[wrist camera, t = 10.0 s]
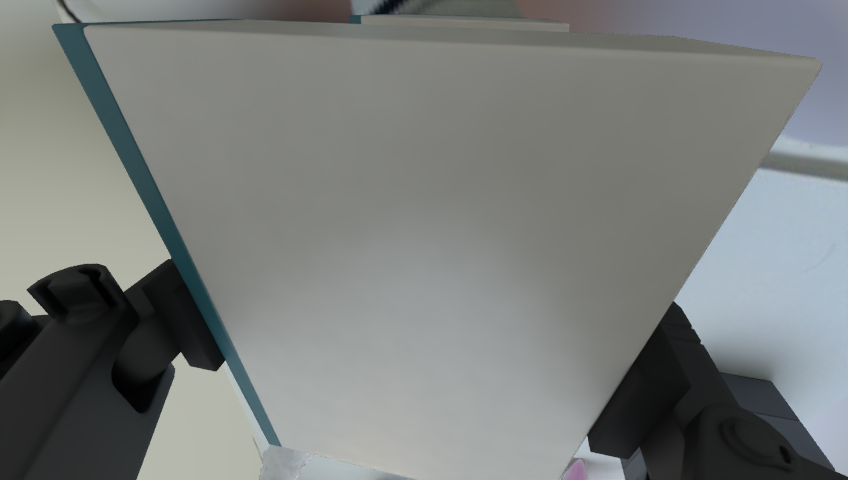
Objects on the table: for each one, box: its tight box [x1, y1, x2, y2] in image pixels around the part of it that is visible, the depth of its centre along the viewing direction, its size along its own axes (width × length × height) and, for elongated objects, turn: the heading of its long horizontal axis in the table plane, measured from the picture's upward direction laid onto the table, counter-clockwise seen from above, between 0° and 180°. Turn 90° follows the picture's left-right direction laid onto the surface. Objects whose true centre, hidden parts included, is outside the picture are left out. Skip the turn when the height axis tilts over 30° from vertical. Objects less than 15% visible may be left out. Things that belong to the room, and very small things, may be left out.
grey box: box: [620, 373, 835, 480], centre depth 26 cm, size 12×7×6 cm, turn 178°
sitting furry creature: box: [259, 445, 314, 480], centre depth 40 cm, size 10×9×12 cm
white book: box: [52, 19, 822, 480], centre depth 9 cm, size 12×9×4 cm
